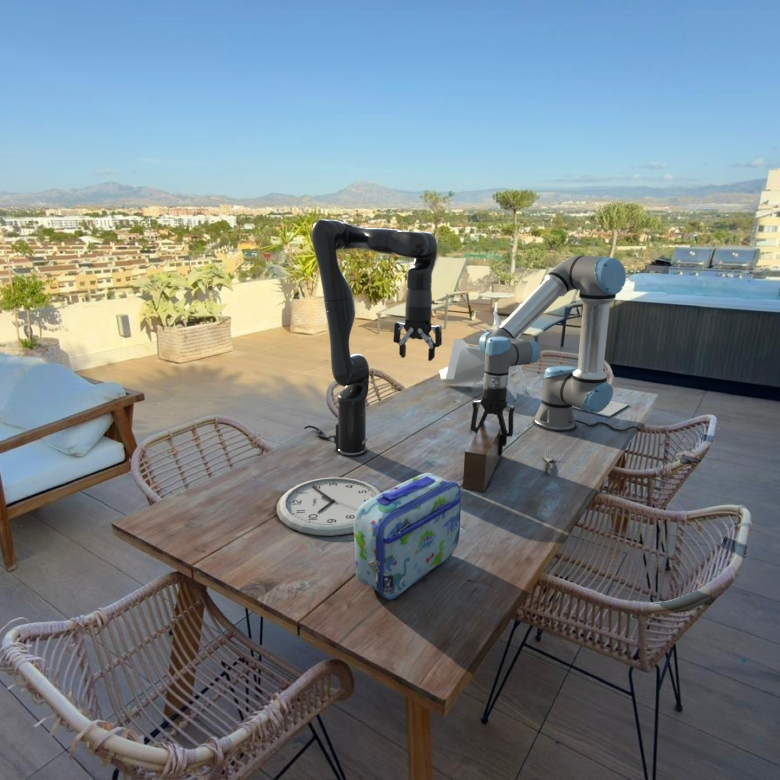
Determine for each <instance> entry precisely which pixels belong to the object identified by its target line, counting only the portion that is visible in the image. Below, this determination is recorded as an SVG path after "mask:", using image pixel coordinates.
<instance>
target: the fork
mask: <svg viewBox="0 0 780 780" xmlns="http://www.w3.org/2000/svg"><path fill="white" fill-rule="evenodd" d="M547 450H548V449H546V451H545V455H544V461H546V463H545V468H544V469H545V474H547V473H548V471H549V469H550V462H553V460H554V452H552V451H550V450H548V451H547ZM549 451H550V452H549Z"/></svg>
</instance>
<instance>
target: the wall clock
mask: <svg viewBox="0 0 780 780" xmlns="http://www.w3.org/2000/svg"><path fill="white" fill-rule="evenodd" d="M381 493H383V492H382V491H381V490H380V489H379V488H377V487H376V486H374V485H372V484H371V483H369V482H365V481H362V480H359V479H355V478H349V477H338V476H337V477H335V476H333V477H332V476H331V477H322V478H317V479H312V480H307V481H305V482H302V483H299V484H297V485H295V486H293V487H292V488H290V489H288V490H287V491H286V492H285V493H284V494H283V495H281V496H280V498H279V499H278V502H277V503H276V515H277V517H278V518H279V520H280V521H281V522H282V523H283V524H285V525H286V526H287V527H288V528H290V529H293V530H295V531H297V532H299V533H303V534H308V535H312V536H327V537H328V536H329V537H331V536H332V537H333V536H342V535H350V534H352V533H353V534H354V519H355V515H356V513H357V511H358V509H359V508H360V506H361V505H362V504H363V503H364V502H365V501H367V500H369V499H371V498H373V497H375V496H377V495H379V494H381Z"/></svg>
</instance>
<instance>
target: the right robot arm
mask: <svg viewBox="0 0 780 780" xmlns="http://www.w3.org/2000/svg"><path fill="white" fill-rule="evenodd" d="M626 279H627V274H626V269H625V267H624V264H623V263H622V262H621V261H620V260H619V259H617V258H615V257H609V256H600V255H599V256H598V255H597V256H596V255H584V254H582V255H581V254H580V255H574V256H571V257H568V258H567V259H565V260H563V261H561V262H560V263H558V264H557V265H556V266H555V267H553V268H552V269H550V271H549V272H548V273H547V274H546V275H544V277H543V281H542V283H541V284H540V285H539V286H538V287H536V289H535V290H534V291H533V292H532V293H531V294H530V295H529V296H528V297H527V298H526V299H525V300H524V301H523V302H522V303H521V304H520V305H519V306H518V307H517V308H516V309H515V310H514V311H513V312H512V313H511V314H510V315H509V316H508V317H507V318H506V319H505V320H504V321H503V322H501V325H500V326H499V327H498V328H497V327H496V329H495V330H494V331H493V332H492V331H487V332H484V333H483V334H481V336H480V337H479V339H478V340H479V341H478V345H479V347H480V350H481V351H482V352H484V353H485V371H484V377H483V386H482V397H481V399H480V400H476V399H475V400H473V402H472V403H471V405H472V409H473V410H472V414H471V422H470V429H469V430H470V431H471V432H472V431H473V432H475V435H476V434H477V432H478V431H479V429H480V428H481V426H482V425H483V423H484V421H486V419H487V417H488V415H495V416H496V417H497V420H498V423H499V424H500V428H501V432H502V435H501V437H500V445H499V456H500V457H502V455H503V451H504V448H503V447H506V445H507V443H508V437H509V438H511V437H512V436H513V435H514V412H515V409H516V405H515V404H514V405H511V404H508V402H507V395H508V374H509V371H510V367H516V366H518V365H521V366H525V365H527V366H528V365H531V364H533V363H534V364H535V363H537V362H538V361H539V360H540V358H541V355H542V350H541V346H540V344H539V343H538V341H536V340H529V339H526V340H519V338H520V337H521V336H522V335H523V334H524V333H526V331H527V330H528V329H529V328H530V327H531V326H532V325H533V324H534V323H535V322H536V321H537V320H538V319H539V318H540V317H541V316H542V315H543V314H544V313H545V312H546V311H547V310H548V309H549V308H550V306H552V305H553V304H554V303H555V302H556V300H558V299H559V298H560V297H564V296H566V295H567V294H568V293H569V292H571V291H573V290H577V291H579V294H578V298H579V299H580V301H582V313H581V324H580V336H579V348H578V358H577V361H578V362H577V367H574V366H567V365H557V366H550V367H547V368H546V369H545V370H544V375H543V378H542V379H543V381H542V392H541V402H540V405H539V407H538V410H537V411H536V413H535V417H534V424H535V425H536V426H537V427H539V428H542V429H544V430H549V431H556V432H567V431H572V430H574V429H575V428H576V423H577V424H582V425H584V426H587V427H595V426H597V425H604V426H607V427H608V428H610V429H611V430H614V431H617V432H626V431H629V430H633V429H636V430H638V431H641V429H640V428H639V427H638V426H636V425H632V426H629V427H627V428H616V427H614V426H612V425H611V424H610V423H607V422H603V421H596V422H594V423H592V424H591V423H586V422H584V421H581V420H578V419H576V418H575V417H576V416H575V413H574V407H577V408H580V409H583V410H582V411H584V412H588V411H589V412H588V413H593V414H596V413H597V412H600V411H602V410H603V409H605V408H606V406H607V405H608V404H609V403H610V401H612V399H613V396H614V388H613V385H611V384H610V383H609V382H607V381H608V373H607V372H606V371H605V370H604V366H605V356H606V355H605V354H606V348H607V347H606V346H607V337H608V326H609V320H610V319H609V318H610V307H611V303H612V302H613V301H614V300H615V299H616V298H617V297H616V296H617V295H618V294H619V293H620V292H621V291H622V290H623V287H624V286H625V285H626ZM480 407H482V408H483V410H484V411H483V414H482V415H481V418H480V420H479V423H478V425H477V421H478V416H479V415H478V413H479V408H480ZM580 409H579V410H580ZM504 410H506V411H507V412H508V415H507V416H508V418H507V419H508V420H507V421H508V422H507V423H508V426H507V425H506V421H505V418H504ZM507 427H508V428H507Z"/></svg>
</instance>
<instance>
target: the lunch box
mask: <svg viewBox="0 0 780 780" xmlns="http://www.w3.org/2000/svg"><path fill="white" fill-rule="evenodd" d="M461 503H462V502H461V487H460V485H459V483H457V482H455V481H448V480H446V479H445V478H442V477H440V476H439V475H437V474H434V473H432V472H424V473H422V474H419V475H416V476H415V477H412V478H409V479H407V480H406V481H404V482H402V483H399V484H398V485H395V486H394V487H391V488H389V489H387V490H385V491H383V492H382V493H381V494H379V495H377V496H375V497H373V498H371V499H369V500H367V501H365V502H364V503H363V504H362V505H361V506H360V508H359V509H358V511H357V513H356V515H355V519H354V532H353V546H354V547H353V548H354V571H355V572H354V573H355V576H356V579H357V580H358V581H359V582H360V583H363V584H364V585H367V586H368V587H370V588H372V589H373V590H374V591H376V592H378V594H379V595H380V596H381V597H382V598H384V599H386V600H394V599H396V598H398V597H399V596H400V595H402V594H403V593H404V592H405V591H406V590H407V589H409V588H410V587H412V586H413V585H414V584H416V583H417V582H418V581H420V580H421V579H422V578H424V577H425V576H426V575H427V574H428V573H429V572H430V571H432V570H433V569H435V568H437V567H438V566H439V565H441V564H443V563H444V562H445V561H447V560H448V559H449V558H451V556H452V555H453V554H454V552H455V550H456V549H457V546H458V543H459V539H460V531H461V510H462V509H461V508H462V507H461Z"/></svg>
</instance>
